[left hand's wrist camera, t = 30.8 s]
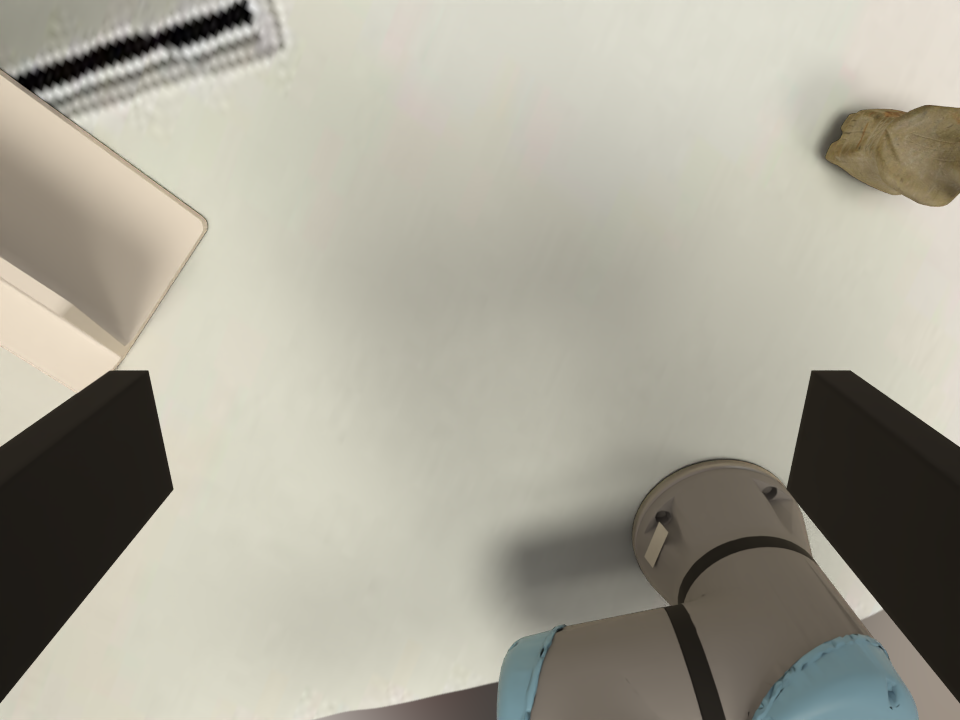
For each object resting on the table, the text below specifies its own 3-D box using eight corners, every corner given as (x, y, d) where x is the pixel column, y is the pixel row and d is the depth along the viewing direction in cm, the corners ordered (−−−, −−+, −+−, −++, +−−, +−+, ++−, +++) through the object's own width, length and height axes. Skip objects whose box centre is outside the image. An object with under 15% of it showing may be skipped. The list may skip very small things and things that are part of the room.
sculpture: (880, 206, 48) (1043, 245, 34) (802, 165, 47) (938, 188, 33) (930, 133, 46) (1125, 143, 32) (850, 88, 45) (1016, 78, 31)
